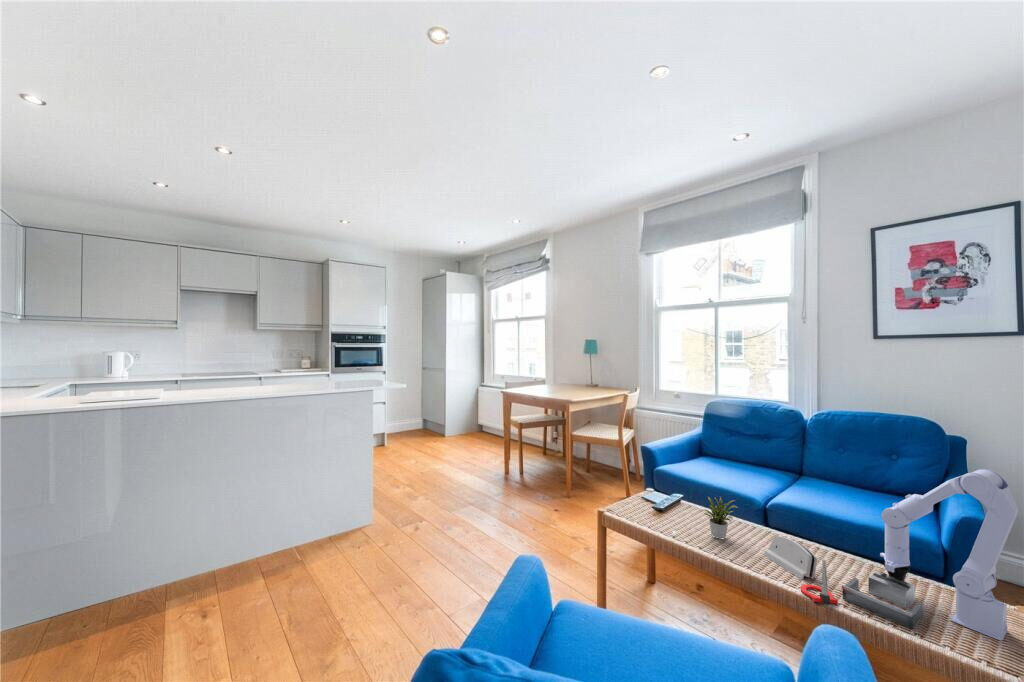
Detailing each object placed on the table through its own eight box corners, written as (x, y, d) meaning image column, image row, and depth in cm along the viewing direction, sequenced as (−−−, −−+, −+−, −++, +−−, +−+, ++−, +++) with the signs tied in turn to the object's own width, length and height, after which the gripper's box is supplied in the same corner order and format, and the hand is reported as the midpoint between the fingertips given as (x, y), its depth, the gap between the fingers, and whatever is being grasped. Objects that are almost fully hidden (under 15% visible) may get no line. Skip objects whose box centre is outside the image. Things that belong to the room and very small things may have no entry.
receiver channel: (923, 616, 119) (922, 601, 119) (911, 629, 113) (911, 614, 113) (854, 588, 132) (854, 575, 132) (841, 599, 127) (841, 585, 127)
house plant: (747, 538, 166) (747, 498, 166) (733, 549, 157) (733, 507, 157) (711, 526, 177) (711, 488, 177) (697, 535, 168) (697, 496, 168)
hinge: (763, 554, 153) (770, 529, 154) (773, 558, 154) (781, 532, 155) (802, 580, 137) (810, 551, 137) (813, 583, 138) (822, 555, 138)
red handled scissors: (795, 586, 134) (811, 603, 125) (794, 546, 135) (810, 560, 125) (823, 589, 133) (841, 606, 123) (822, 549, 133) (840, 562, 124)
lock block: (914, 601, 126) (914, 583, 126) (906, 608, 122) (905, 590, 122) (877, 586, 134) (877, 569, 134) (868, 592, 130) (868, 575, 130)
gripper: (888, 534, 138) (888, 574, 138) (872, 545, 130) (872, 588, 130) (916, 543, 132) (916, 584, 132) (902, 555, 124) (902, 599, 124)
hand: (896, 587), depth 131 cm, fingers closed
